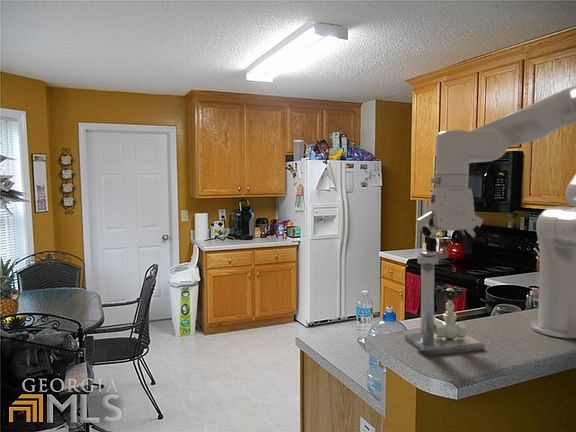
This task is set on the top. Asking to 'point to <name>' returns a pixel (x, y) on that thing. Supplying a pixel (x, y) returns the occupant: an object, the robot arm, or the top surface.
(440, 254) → the lever
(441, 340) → the press
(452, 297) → the valve
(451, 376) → the top surface
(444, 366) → the top surface
